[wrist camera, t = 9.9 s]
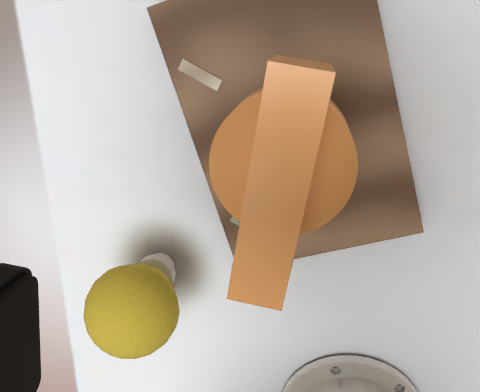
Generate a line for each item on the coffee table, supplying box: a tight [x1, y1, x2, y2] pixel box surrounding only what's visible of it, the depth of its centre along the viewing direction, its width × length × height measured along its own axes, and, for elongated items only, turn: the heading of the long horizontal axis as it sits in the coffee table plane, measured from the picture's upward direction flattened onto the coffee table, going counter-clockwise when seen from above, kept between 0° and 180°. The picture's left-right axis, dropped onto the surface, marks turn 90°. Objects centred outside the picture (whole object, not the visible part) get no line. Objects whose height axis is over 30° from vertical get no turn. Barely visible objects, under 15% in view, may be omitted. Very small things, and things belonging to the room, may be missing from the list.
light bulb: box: [84, 252, 179, 359], centre depth 34 cm, size 7×7×10 cm
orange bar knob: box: [209, 54, 358, 311], centre depth 21 cm, size 11×7×8 cm, turn 172°
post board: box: [147, 0, 424, 259], centre depth 29 cm, size 20×14×8 cm
